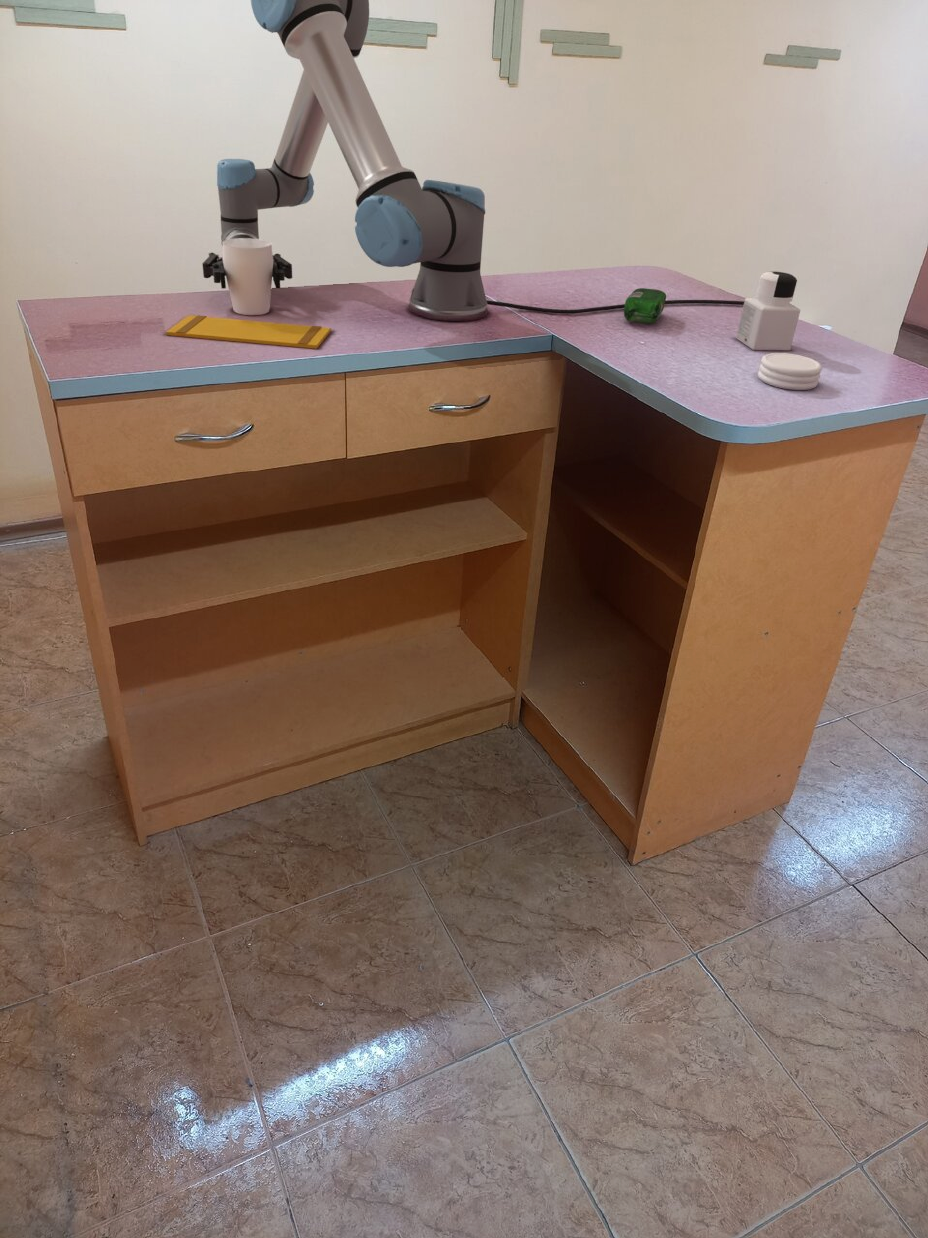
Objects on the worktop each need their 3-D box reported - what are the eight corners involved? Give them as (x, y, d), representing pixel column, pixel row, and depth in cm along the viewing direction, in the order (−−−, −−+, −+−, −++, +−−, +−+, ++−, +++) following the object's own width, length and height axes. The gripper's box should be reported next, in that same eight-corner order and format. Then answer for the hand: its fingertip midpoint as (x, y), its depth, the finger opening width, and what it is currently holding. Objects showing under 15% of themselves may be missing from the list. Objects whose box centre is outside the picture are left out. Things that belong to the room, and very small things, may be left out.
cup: (270, 318, 165) (266, 249, 158) (221, 315, 165) (215, 246, 158) (280, 306, 172) (276, 239, 166) (233, 302, 172) (228, 236, 166)
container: (772, 339, 175) (789, 269, 168) (790, 350, 169) (809, 278, 162) (735, 338, 174) (751, 268, 166) (752, 350, 167) (769, 277, 160)
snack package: (618, 326, 176) (622, 299, 173) (631, 307, 188) (636, 282, 185) (653, 332, 174) (659, 304, 171) (665, 313, 187) (670, 287, 184)
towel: (330, 331, 161) (330, 327, 160) (316, 348, 151) (316, 344, 151) (188, 318, 162) (188, 314, 161) (166, 335, 153) (165, 330, 152)
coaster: (814, 395, 147) (820, 374, 145) (753, 383, 150) (758, 363, 148) (819, 378, 155) (825, 358, 153) (761, 368, 158) (766, 348, 156)
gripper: (298, 273, 184) (311, 301, 166) (189, 272, 179) (190, 302, 161) (297, 234, 180) (310, 259, 162) (185, 232, 175) (185, 258, 157)
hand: (250, 280), depth 161 cm, fingers closed on cup, 9 cm apart
